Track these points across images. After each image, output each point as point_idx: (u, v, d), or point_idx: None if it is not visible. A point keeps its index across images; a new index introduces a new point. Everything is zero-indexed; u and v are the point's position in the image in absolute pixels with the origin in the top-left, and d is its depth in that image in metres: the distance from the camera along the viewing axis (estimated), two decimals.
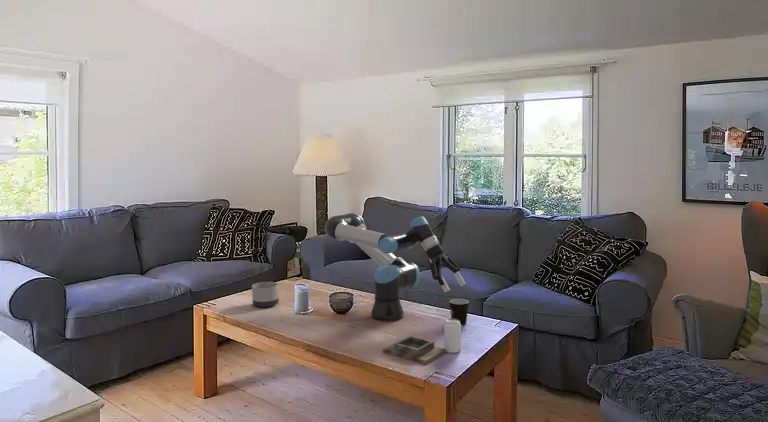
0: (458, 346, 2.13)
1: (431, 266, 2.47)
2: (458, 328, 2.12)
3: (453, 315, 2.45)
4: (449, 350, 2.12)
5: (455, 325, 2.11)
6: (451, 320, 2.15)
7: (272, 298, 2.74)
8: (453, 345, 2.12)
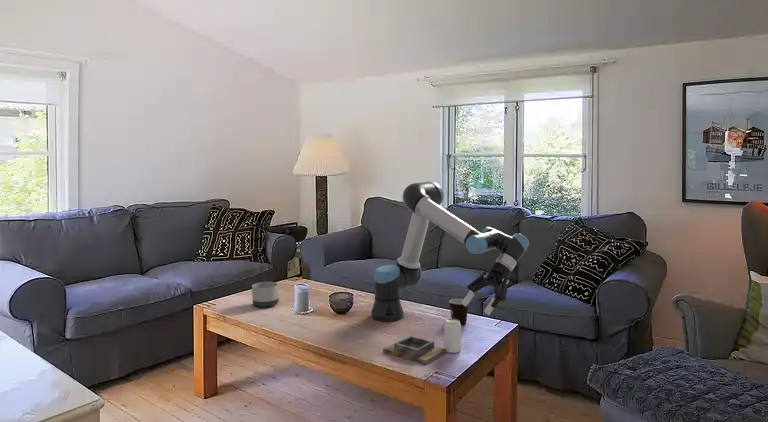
0: (458, 346, 2.13)
1: (505, 286, 2.16)
2: (458, 328, 2.12)
3: (453, 315, 2.45)
4: (449, 350, 2.12)
5: (455, 325, 2.11)
6: (451, 320, 2.15)
7: (272, 298, 2.74)
8: (453, 345, 2.12)
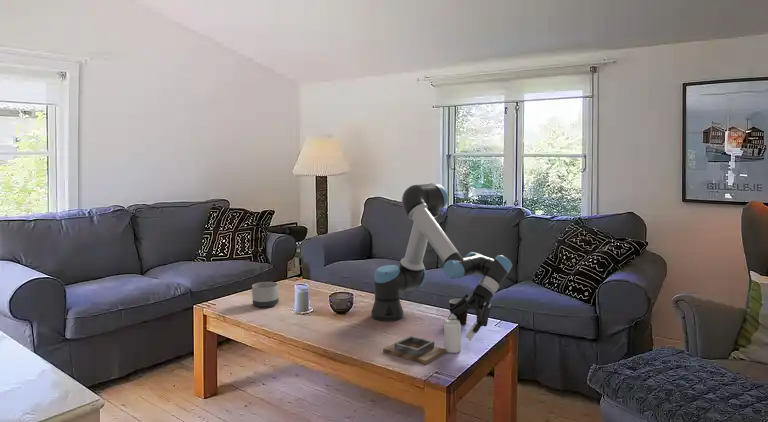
0: (458, 346, 2.13)
1: (487, 310, 2.11)
2: (458, 328, 2.12)
3: None
4: (449, 350, 2.12)
5: (455, 325, 2.11)
6: (451, 320, 2.15)
7: (272, 298, 2.74)
8: (453, 345, 2.12)
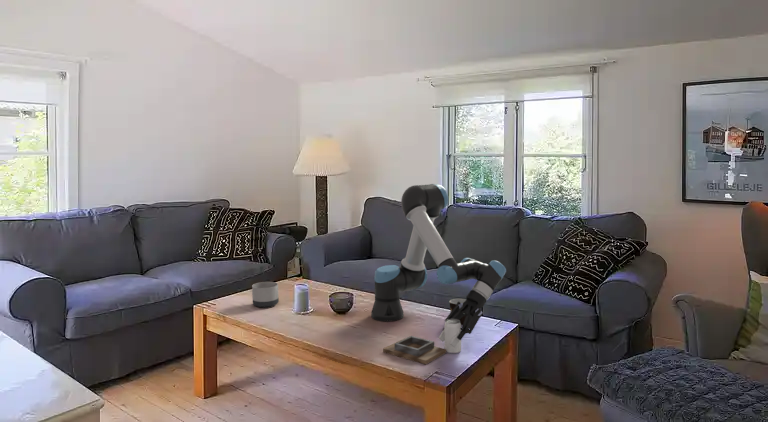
0: (458, 346, 2.12)
1: (475, 318, 2.11)
2: (458, 328, 2.12)
3: None
4: (450, 350, 2.12)
5: (455, 325, 2.11)
6: (451, 320, 2.15)
7: (272, 298, 2.74)
8: None
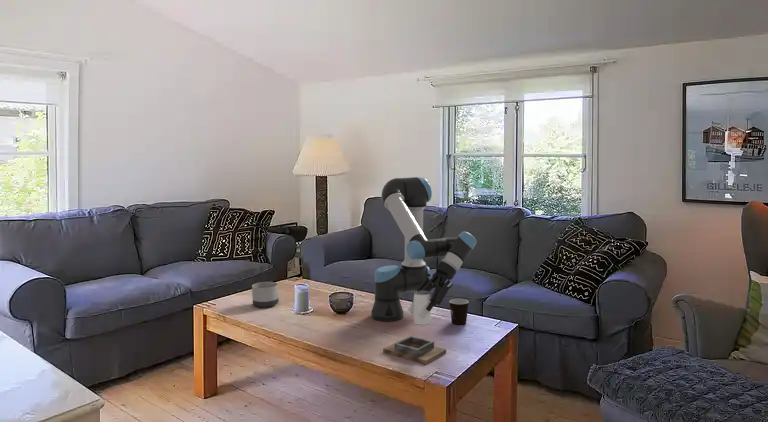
0: (428, 318, 2.09)
1: (444, 289, 2.08)
2: (428, 299, 2.08)
3: (453, 315, 2.45)
4: (419, 322, 2.09)
5: (424, 296, 2.08)
6: (421, 292, 2.12)
7: (272, 298, 2.74)
8: None
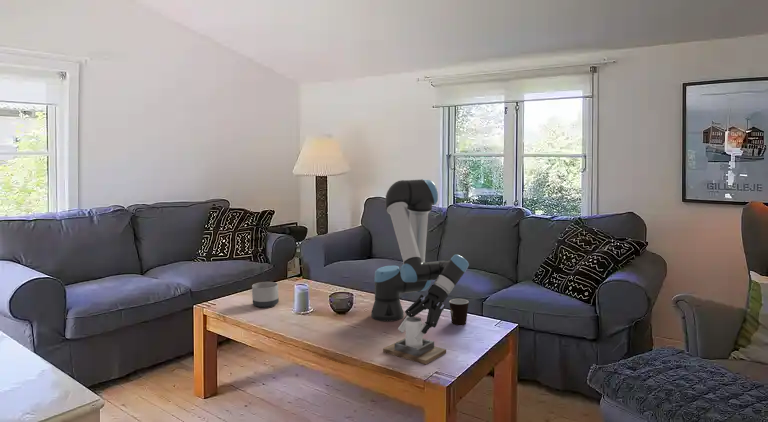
0: (419, 345, 2.10)
1: (438, 311, 2.09)
2: (419, 326, 2.09)
3: (453, 315, 2.45)
4: None
5: (415, 323, 2.09)
6: (412, 318, 2.13)
7: (272, 298, 2.74)
8: (413, 343, 2.09)
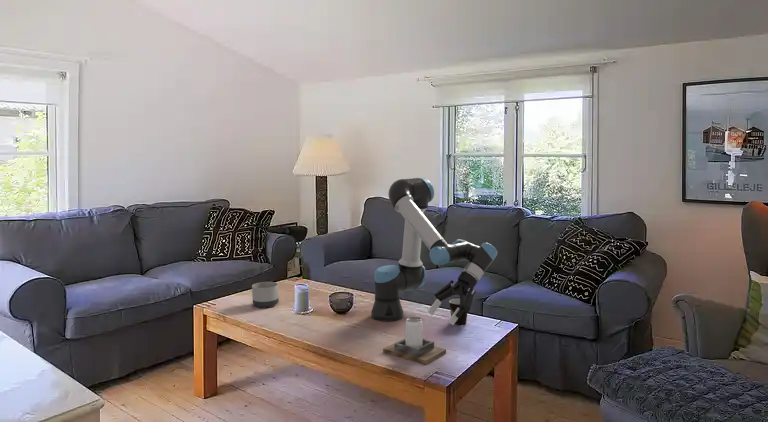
0: (419, 345, 2.10)
1: (470, 296, 2.15)
2: (419, 326, 2.09)
3: None
4: None
5: (415, 323, 2.09)
6: (413, 318, 2.13)
7: (272, 298, 2.74)
8: (413, 343, 2.09)
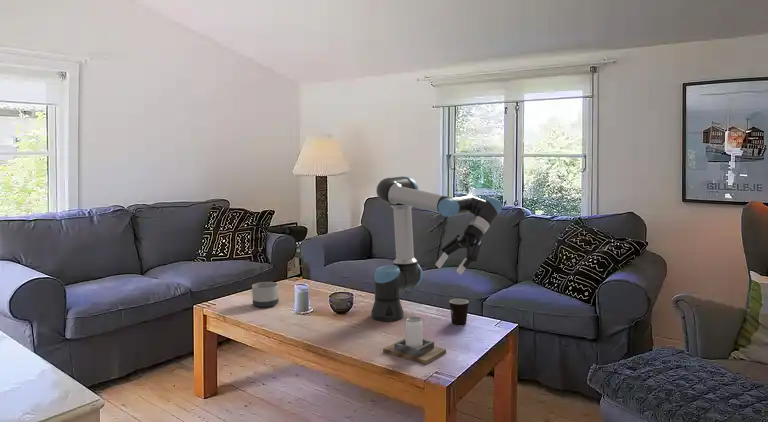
0: (419, 345, 2.10)
1: (477, 247, 2.20)
2: (419, 326, 2.09)
3: (453, 315, 2.45)
4: None
5: (415, 323, 2.09)
6: (413, 318, 2.13)
7: (272, 298, 2.74)
8: (413, 343, 2.09)
